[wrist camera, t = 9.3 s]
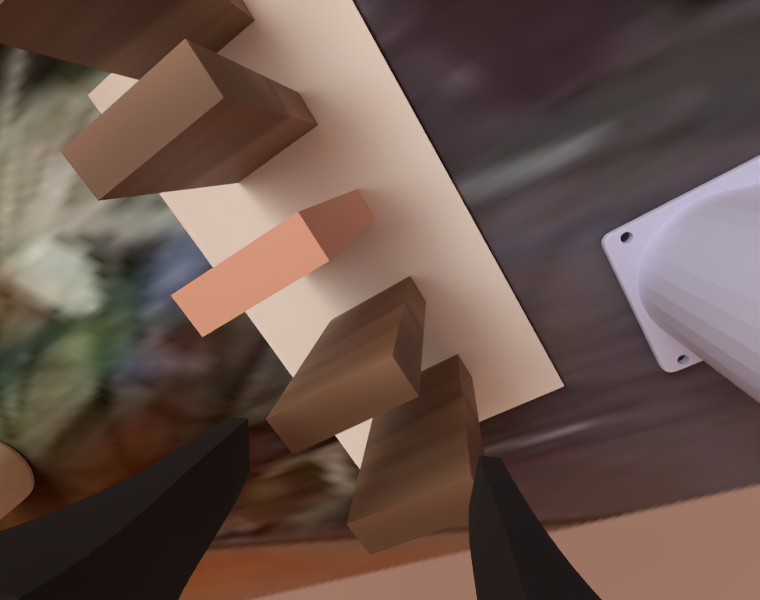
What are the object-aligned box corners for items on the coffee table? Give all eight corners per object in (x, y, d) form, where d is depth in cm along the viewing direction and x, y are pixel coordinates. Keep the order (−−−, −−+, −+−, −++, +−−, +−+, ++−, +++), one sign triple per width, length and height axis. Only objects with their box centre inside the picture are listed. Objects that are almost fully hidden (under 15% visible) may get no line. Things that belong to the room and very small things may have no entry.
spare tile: (277, 240, 21) (170, 295, 13) (357, 188, 20) (297, 211, 11) (294, 266, 21) (202, 337, 13) (374, 217, 20) (329, 260, 12)
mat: (298, -97, 17) (296, -101, 16) (562, 383, 22) (564, 386, 22) (92, 96, 20) (87, 95, 20) (362, 467, 26) (361, 471, 25)
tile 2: (330, 319, 22) (266, 418, 14) (410, 275, 21) (392, 355, 12) (346, 343, 23) (293, 454, 14) (426, 301, 21) (418, 396, 13)
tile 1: (379, 391, 23) (346, 524, 15) (457, 353, 22) (470, 476, 13) (393, 412, 24) (370, 554, 15) (471, 377, 22) (493, 511, 14)
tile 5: (153, 57, 19) (-74, -24, 11) (232, -16, 18) (45, -177, 9) (174, 89, 19) (-28, 35, 11) (254, 20, 18) (93, -102, 10)
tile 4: (218, 154, 20) (60, 151, 12) (298, 92, 19) (185, 38, 10) (238, 183, 20) (98, 200, 12) (318, 124, 19) (223, 97, 11)
